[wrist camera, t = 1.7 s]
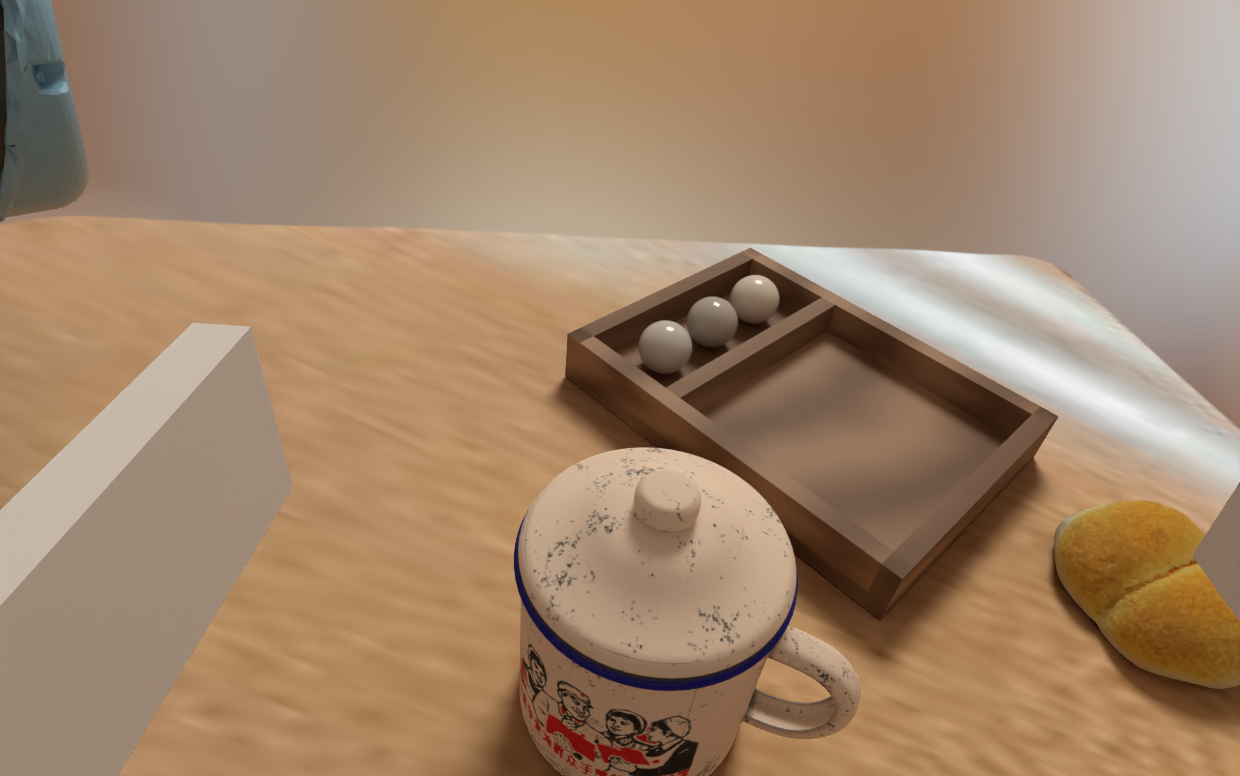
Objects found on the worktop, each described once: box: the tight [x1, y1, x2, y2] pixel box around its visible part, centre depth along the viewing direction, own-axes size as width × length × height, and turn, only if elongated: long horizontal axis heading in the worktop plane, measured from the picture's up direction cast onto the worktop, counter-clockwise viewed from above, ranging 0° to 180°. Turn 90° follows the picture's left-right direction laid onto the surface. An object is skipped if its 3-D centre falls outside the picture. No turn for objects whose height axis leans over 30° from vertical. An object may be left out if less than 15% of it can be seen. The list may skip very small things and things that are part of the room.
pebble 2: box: [686, 297, 738, 348], centre depth 46 cm, size 3×3×3 cm
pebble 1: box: [638, 320, 692, 374], centre depth 44 cm, size 3×3×3 cm
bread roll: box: [1054, 500, 1240, 689], centre depth 35 cm, size 8×9×4 cm
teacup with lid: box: [514, 448, 861, 776], centre depth 27 cm, size 12×9×12 cm
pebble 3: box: [730, 275, 779, 324], centre depth 48 cm, size 3×3×3 cm
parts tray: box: [565, 248, 1058, 620], centre depth 43 cm, size 21×16×3 cm
